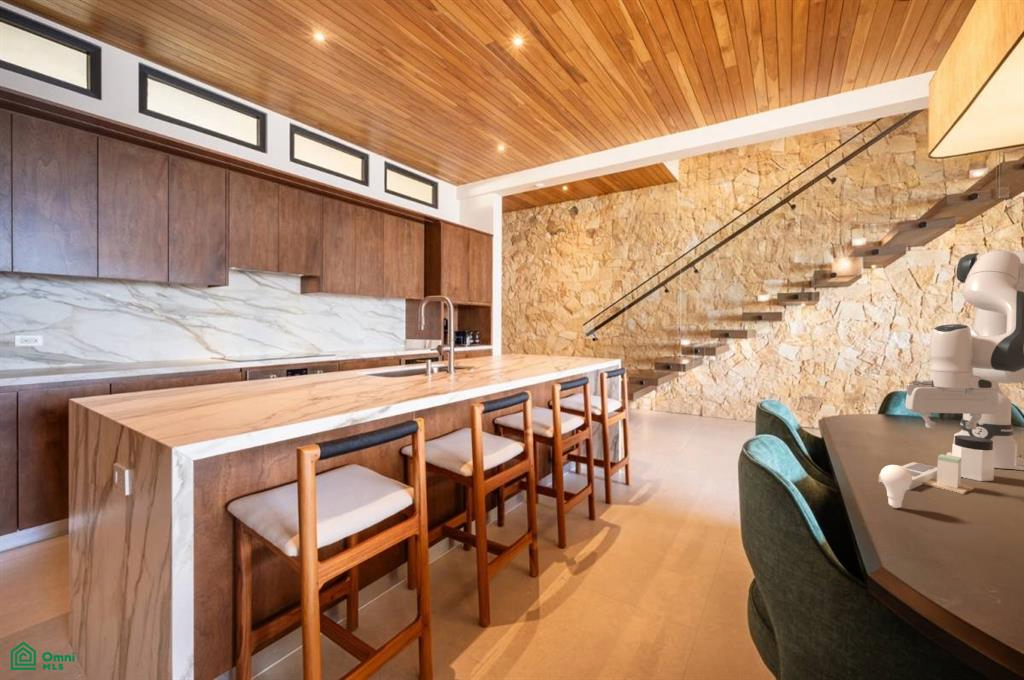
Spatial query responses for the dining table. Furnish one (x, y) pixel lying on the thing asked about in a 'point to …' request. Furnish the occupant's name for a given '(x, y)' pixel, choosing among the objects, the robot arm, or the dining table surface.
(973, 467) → the jar
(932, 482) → the coaster
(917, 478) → the power strip
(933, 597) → the dining table surface
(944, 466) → the block
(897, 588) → the dining table surface
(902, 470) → the lightbulb
